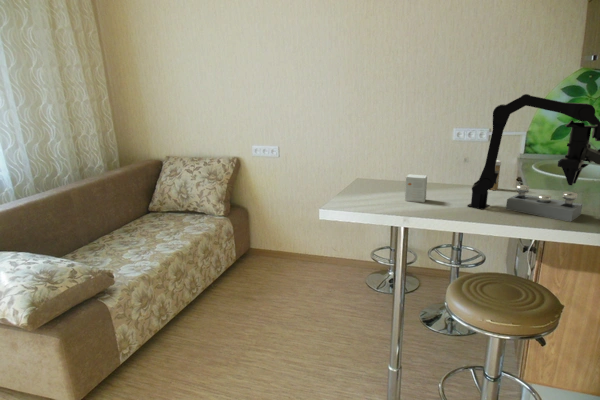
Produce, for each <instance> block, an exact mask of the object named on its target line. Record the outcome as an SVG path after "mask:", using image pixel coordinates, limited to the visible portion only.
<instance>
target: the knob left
mask: <svg viewBox="0 0 600 400" xmlns="http://www.w3.org/2000/svg"><path fill="white" fill-rule="evenodd" d="M515 190H516V192H518V193H517V194H518V198H519V199H525V195H526V193H528V192H529V191H530V186H529V185H526V184H516V188H515Z"/></svg>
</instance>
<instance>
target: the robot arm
mask: <svg viewBox="0 0 600 400" xmlns="http://www.w3.org/2000/svg"><path fill="white" fill-rule="evenodd" d="M525 107H532V108H537V109H540V110H545V111H550V112H554V113H559V114H562V115H565V116H568V117H570V118H572V119H571V120H570V121H569V122H567V123H565V125H564V126H565V127H566V128H571V130H570V136H569V141H568V142H567V143H566V144H567V145H566V147H567V154H565V155H564V157H563V158H561V159H559V160H558V161H557V167H558V168H562V169H561V170H562V171H563V173H564V176H565V179H566V182H567V184H568V186H573V184H574V185H575V184H576V182H577V180H578V179H579V177H580V174H581V172H582V170H583V169H584V168H587V167H589V165H590V163H592V162H594V164H596V165H599V166H600V148H599V149H595V148H592V144H591V142H590V139H591V138H592V139H594V141H595V142H600V119H599V118H597V116H596V109H595V107H594V106H593V105H592V104H588V103H583V102H563V101H558V100H555V99H554V100H553V99H551V98H550V99H549V98H546V97H545V98H544V97H540V96H534V95H531V94H528V93H524V94H522V95H520V96H519V97H518V98H516V99H515V100H511V101H510V102H508V103H506V104H502V103H501V104H499V105H497V106H496V107H495V108H494V109H493V111H492V132H491V137H490V141H489V146H488V149H487V155H486V160H485V164H484V167H483V170H482V172H481V174H480V175H479V178H478V180H476V181H475V182H474V183H473V185H472V187H471V201H470V203H469V204H467V205H466V206H467V207H470V208H475V209H480V210H485V209H486V208H489V207H490V204H488V203H487V202H488V195H489V191H490V189H491V188H493V186H494V184H497V176H498V174H499V175H500V173H499V171H496V161H497V160H498V156H499V151H500V147H501V143H502V137H503V134H504V129H505V128H506V126H507V122H508V121H509V118H510V115H512V114H514V113H515V112H517V111H518V110H520V109H523V108H525ZM573 119H574V120H577V121H580V122H575V121H574V120H573ZM585 122H588V123H589V124H590V125H585ZM585 162H588V163H585Z"/></svg>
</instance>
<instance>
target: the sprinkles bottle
mask: <svg viewBox="0 0 600 400" xmlns="http://www.w3.org/2000/svg"><path fill="white" fill-rule="evenodd" d="M501 165H502V161H501V160H498V159H497V161H496V171H499V174H498V176H497V184H494V186H493V188H491V189H489V191H490V190H491V191H497V190H499V181H500V172H501Z"/></svg>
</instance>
